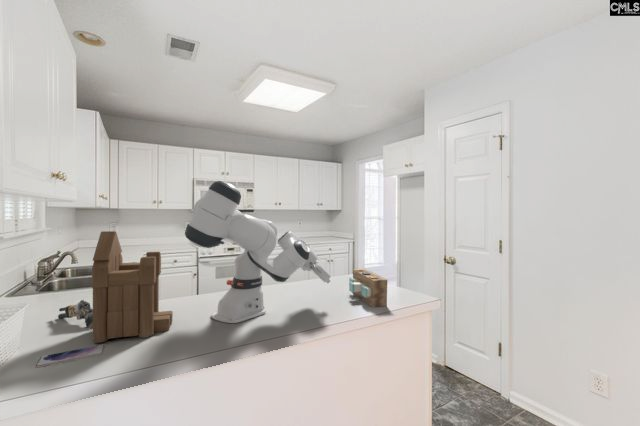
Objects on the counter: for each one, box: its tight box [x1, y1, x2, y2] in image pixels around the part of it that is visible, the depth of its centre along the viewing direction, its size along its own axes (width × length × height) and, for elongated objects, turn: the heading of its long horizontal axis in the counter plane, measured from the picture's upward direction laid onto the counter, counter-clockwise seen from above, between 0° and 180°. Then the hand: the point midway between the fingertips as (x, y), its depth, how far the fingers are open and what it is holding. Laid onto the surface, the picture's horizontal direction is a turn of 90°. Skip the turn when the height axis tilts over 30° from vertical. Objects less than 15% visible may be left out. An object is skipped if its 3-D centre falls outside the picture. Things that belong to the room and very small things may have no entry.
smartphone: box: [34, 344, 105, 369], centre depth 88 cm, size 7×1×15 cm
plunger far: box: [348, 277, 358, 283], centre depth 155 cm, size 9×4×4 cm, turn 106°
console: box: [352, 268, 388, 308], centre depth 148 cm, size 7×24×13 cm, turn 16°
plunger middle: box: [348, 281, 364, 294], centre depth 147 cm, size 9×4×4 cm, turn 106°
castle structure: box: [91, 230, 174, 344], centre depth 111 cm, size 27×22×35 cm
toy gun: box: [57, 299, 93, 329], centre depth 112 cm, size 3×21×10 cm, turn 67°
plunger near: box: [362, 286, 371, 298], centre depth 140 cm, size 9×4×4 cm, turn 106°
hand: (328, 281), depth 136 cm, fingers closed
